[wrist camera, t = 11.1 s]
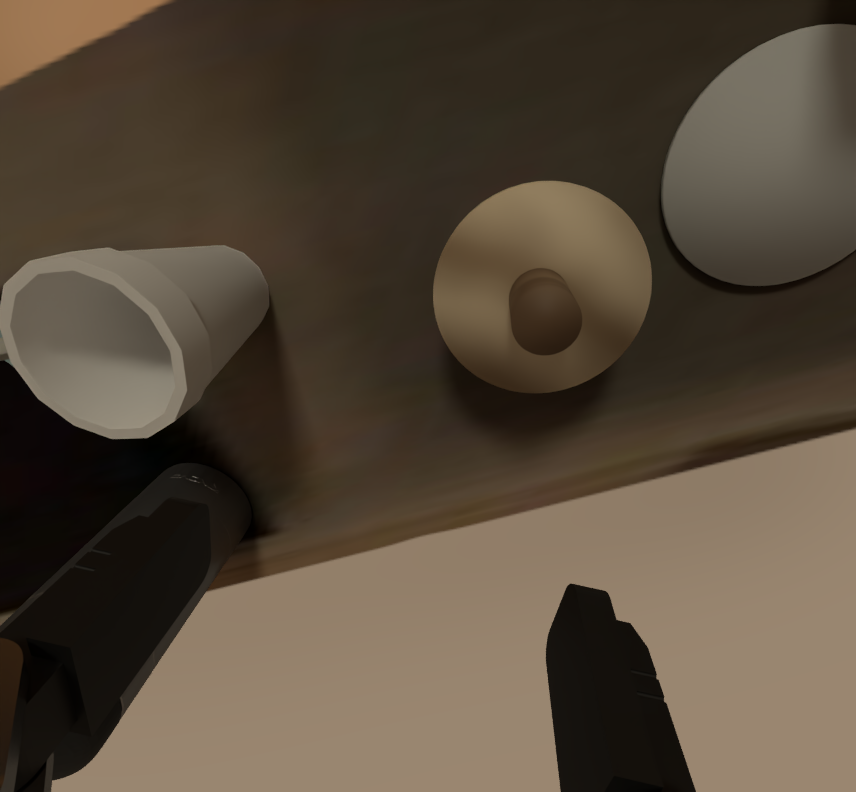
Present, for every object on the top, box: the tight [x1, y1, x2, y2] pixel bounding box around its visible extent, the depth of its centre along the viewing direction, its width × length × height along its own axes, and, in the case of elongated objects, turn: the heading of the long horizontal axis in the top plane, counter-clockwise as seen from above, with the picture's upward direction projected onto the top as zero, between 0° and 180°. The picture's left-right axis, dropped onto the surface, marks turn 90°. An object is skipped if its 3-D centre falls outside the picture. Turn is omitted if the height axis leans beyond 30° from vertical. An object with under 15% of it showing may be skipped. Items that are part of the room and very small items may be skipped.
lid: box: [433, 181, 652, 393], centre depth 24 cm, size 12×12×6 cm
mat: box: [661, 24, 856, 286], centre depth 27 cm, size 13×13×1 cm
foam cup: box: [0, 245, 269, 439], centre depth 29 cm, size 10×9×13 cm
